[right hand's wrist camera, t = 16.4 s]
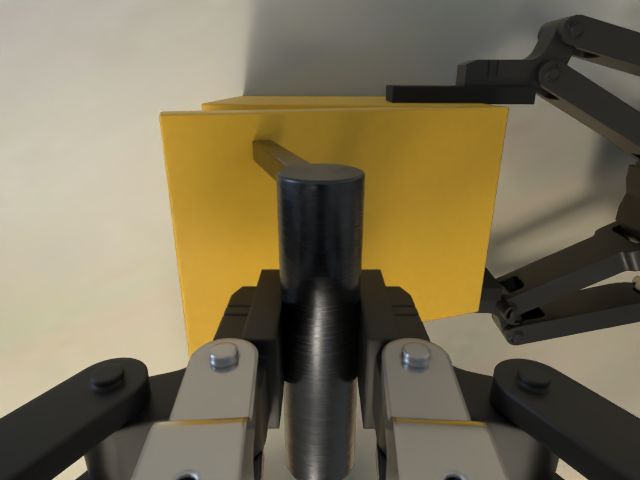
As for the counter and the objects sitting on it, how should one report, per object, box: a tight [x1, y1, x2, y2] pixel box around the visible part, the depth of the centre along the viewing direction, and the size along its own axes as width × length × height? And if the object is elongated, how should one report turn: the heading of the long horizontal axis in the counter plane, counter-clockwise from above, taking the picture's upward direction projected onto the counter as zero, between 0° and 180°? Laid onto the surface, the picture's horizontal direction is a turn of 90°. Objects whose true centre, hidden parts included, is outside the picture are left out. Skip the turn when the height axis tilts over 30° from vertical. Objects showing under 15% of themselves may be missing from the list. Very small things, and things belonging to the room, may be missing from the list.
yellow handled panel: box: [159, 105, 509, 480], centre depth 15 cm, size 14×10×9 cm
